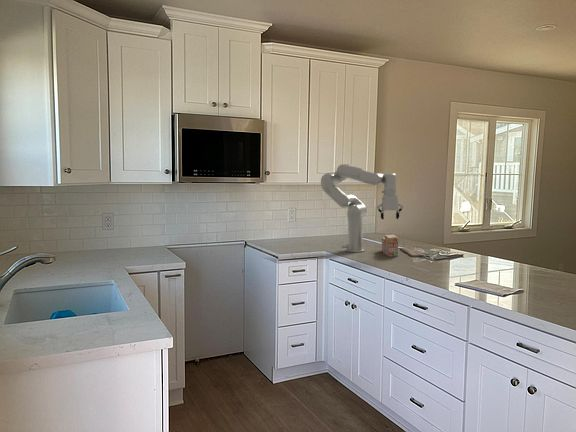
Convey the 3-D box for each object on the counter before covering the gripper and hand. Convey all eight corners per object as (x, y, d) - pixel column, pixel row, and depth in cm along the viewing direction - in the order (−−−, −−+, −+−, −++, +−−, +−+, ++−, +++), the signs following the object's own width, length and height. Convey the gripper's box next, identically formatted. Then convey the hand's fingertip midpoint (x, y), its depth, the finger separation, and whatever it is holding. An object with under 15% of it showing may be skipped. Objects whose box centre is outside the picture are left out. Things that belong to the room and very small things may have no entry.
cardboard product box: (381, 250, 314) (381, 232, 313) (390, 250, 314) (390, 232, 313) (388, 256, 293) (388, 237, 292) (398, 256, 293) (398, 237, 292)
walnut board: (412, 257, 290) (412, 255, 290) (400, 249, 317) (400, 247, 317) (431, 256, 291) (431, 254, 291) (417, 249, 317) (417, 247, 317)
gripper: (378, 193, 295) (378, 219, 297) (404, 192, 296) (404, 219, 297) (375, 192, 303) (375, 218, 304) (401, 192, 303) (401, 218, 305)
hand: (389, 218), depth 301 cm, fingers open, 9 cm apart
